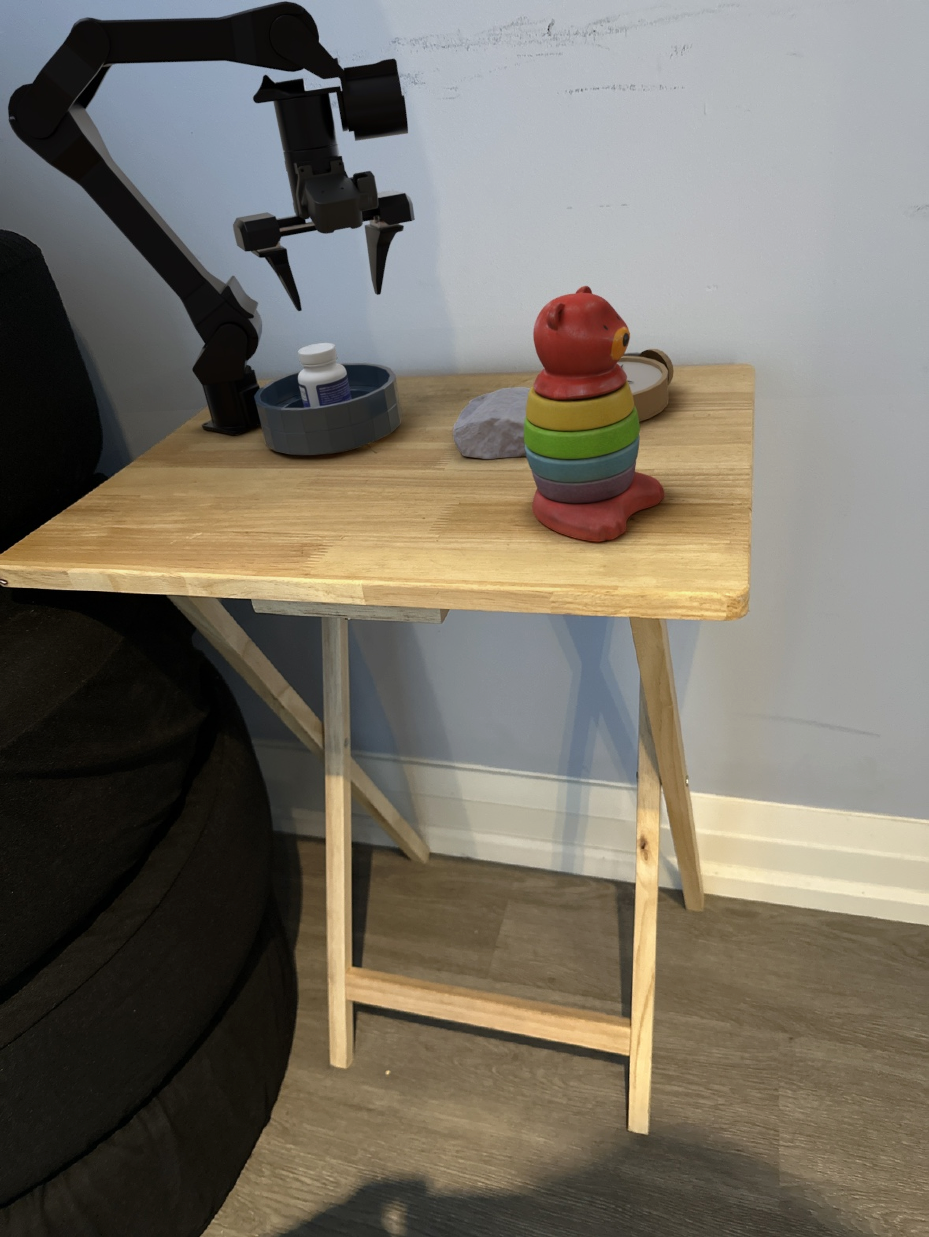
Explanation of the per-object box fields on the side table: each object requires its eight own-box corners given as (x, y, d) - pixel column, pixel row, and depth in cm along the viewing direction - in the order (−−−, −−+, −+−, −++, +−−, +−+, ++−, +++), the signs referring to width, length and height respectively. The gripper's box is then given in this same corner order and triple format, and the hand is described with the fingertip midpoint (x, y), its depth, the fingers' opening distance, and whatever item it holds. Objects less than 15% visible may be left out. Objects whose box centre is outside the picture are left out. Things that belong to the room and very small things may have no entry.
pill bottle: (364, 419, 104) (349, 340, 99) (344, 437, 99) (328, 355, 95) (322, 419, 105) (306, 341, 101) (300, 436, 101) (282, 356, 97)
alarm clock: (544, 399, 95) (586, 331, 105) (550, 440, 98) (590, 371, 108) (652, 401, 91) (685, 331, 100) (655, 445, 94) (687, 372, 104)
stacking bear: (609, 547, 72) (599, 316, 63) (504, 524, 78) (481, 309, 69) (673, 493, 79) (672, 278, 70) (572, 475, 85) (559, 274, 76)
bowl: (238, 448, 102) (225, 400, 99) (334, 403, 112) (325, 358, 109) (334, 469, 93) (323, 417, 91) (430, 418, 103) (423, 369, 100)
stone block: (455, 477, 92) (551, 454, 89) (440, 432, 90) (538, 407, 87) (478, 436, 102) (565, 415, 99) (465, 395, 100) (553, 372, 97)
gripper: (234, 166, 87) (272, 334, 95) (420, 136, 91) (441, 298, 100) (216, 160, 96) (252, 314, 104) (386, 133, 101) (408, 282, 109)
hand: (339, 302), depth 104 cm, fingers open, 9 cm apart
